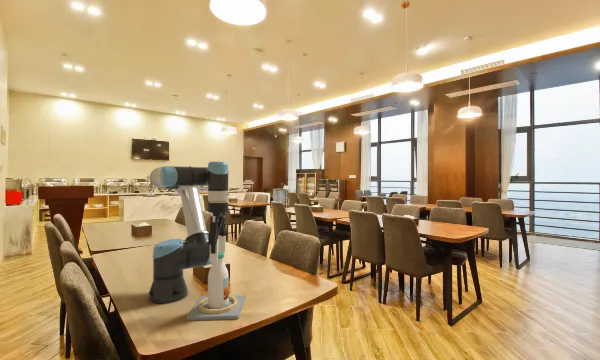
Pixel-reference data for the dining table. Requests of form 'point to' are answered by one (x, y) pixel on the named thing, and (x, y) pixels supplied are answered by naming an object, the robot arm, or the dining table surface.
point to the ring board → (207, 313)
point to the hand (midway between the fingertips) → (218, 256)
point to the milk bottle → (218, 284)
